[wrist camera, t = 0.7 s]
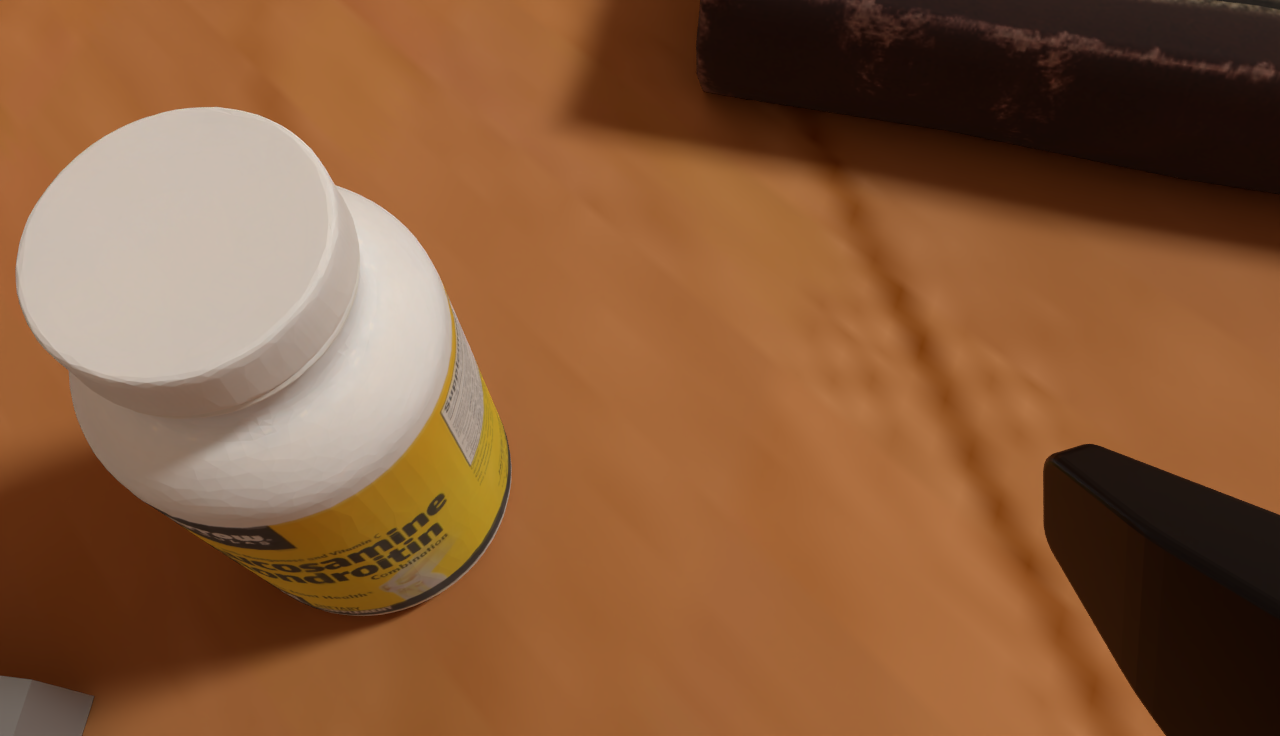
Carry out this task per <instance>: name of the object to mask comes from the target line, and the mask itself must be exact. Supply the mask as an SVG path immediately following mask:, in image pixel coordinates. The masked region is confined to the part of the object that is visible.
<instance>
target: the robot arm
mask: <svg viewBox="0 0 1280 736" xmlns="http://www.w3.org/2000/svg"><path fill="white" fill-rule="evenodd" d="M1043 506H1044V530H1045V535H1046V538H1047V541H1048V544H1049V546H1050V549H1051V551H1052V552H1053V554H1054V556H1055V558H1056V559H1057V561H1058V563H1059V565H1060V566H1061V568H1062V570H1063V571H1064V573H1065V575H1066V577H1067V578H1068V580H1069V582H1070V583H1071V585H1072V587H1073V589H1074V590H1075V592H1076V594H1077V595H1078V597H1079V599H1080V601H1081V602H1082V604H1083V606H1084V607H1085V609H1086V611H1087V613H1088V614H1089V616H1090V618H1091V619H1092V621H1093V623H1094V625H1095V626H1096V628H1097V630H1098V631H1099V633H1100V635H1101V637H1102V638H1103V640H1104V642H1105V643H1106V645H1107V647H1108V649H1109V650H1110V652H1111V654H1112V655H1113V657H1114V659H1115V661H1116V662H1117V664H1118V666H1119V667H1120V669H1121V671H1122V672H1123V674H1124V676H1125V677H1126V679H1127V680H1128V682H1129V684H1130V685H1131V687H1132V689H1133V690H1134V692H1135V693H1136V695H1137V696H1138V698H1139V699H1140V700H1141V702H1142V703H1143V705H1144V706H1145V708H1146V709H1147V710H1148V712H1149V713H1150V715H1151V716H1152V717H1153V719H1154V720H1155V722H1156V723H1157V724H1158V726H1159V727H1160V728H1161V730H1162V731H1163V732H1164V734H1165V735H1166V736H1280V515H1278V514H1276V513H1273V512H1271V511H1268V510H1265V509H1263V508H1260V507H1258V506H1255V505H1252V504H1250V503H1247V502H1245V501H1242V500H1239V499H1237V498H1234V497H1231V496H1229V495H1226V494H1224V493H1221V492H1218V491H1216V490H1213V489H1211V488H1208V487H1205V486H1203V485H1200V484H1198V483H1195V482H1192V481H1190V480H1187V479H1185V478H1182V477H1179V476H1177V475H1174V474H1171V473H1169V472H1166V471H1164V470H1161V469H1158V468H1156V467H1153V466H1151V465H1148V464H1145V463H1143V462H1140V461H1138V460H1135V459H1132V458H1130V457H1127V456H1125V455H1122V454H1119V453H1117V452H1114V451H1111V450H1109V449H1106V448H1104V447H1101V446H1098V445H1094V444H1084V445H1080V446H1077V447H1074V448H1070V449H1067V450H1064V451H1060V452H1057V453H1054V454H1052V455H1050V456H1049V457H1048V458H1047V459H1046V461H1045V464H1044V470H1043Z"/></svg>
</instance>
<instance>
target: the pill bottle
mask: <svg viewBox="0 0 1280 736" xmlns="http://www.w3.org/2000/svg"><path fill="white" fill-rule="evenodd" d="M16 287H17V295H18V298H19V304H20V306H21V309H22V311H23V314H24V317H25V319H26V322H27V324H28V326H29V327H30V329H31V331H32V332H33V334H34V336H35V337H36V339H37V341H38V342H39V343H40V344H41V345H42V346H43V348H44V349H45V350H46V351H47V352H48V353H49V354H51V355H52V356H53V357H54V358H55V359H56V360H57V361H58V362H59V363H60V364H62V365H63V366H64V367H65V368H66V369H68V370H69V380H70V390H71V395H72V401H73V406H74V409H75V413H76V416H77V419H78V421H79V424H80V427H81V429H82V431H83V433H84V435H85V438H86V439H87V441H88V443H89V445H90V447H91V448H92V450H93V452H94V454H95V455H96V456H97V458H98V459H99V460H100V461H101V463H102V464H103V465H104V467H105V468H106V469H107V470H108V471H109V472H110V473H111V474H112V475H113V476H114V477H115V478H116V479H117V480H118V481H119V482H120V483H121V484H122V485H124V486H125V487H126V488H127V489H128V490H130V491H131V492H132V493H133V494H134V495H135V496H136V497H138V498H139V499H141V500H142V501H144V502H145V503H147V504H149V505H150V506H152V507H153V508H155V509H157V510H158V511H160V512H161V513H163V514H164V515H166V516H167V517H169V518H171V519H172V520H174V521H175V522H176V523H178V524H179V525H181V526H182V527H184V528H185V529H187V530H188V531H189V532H191V533H192V534H194V535H196V536H197V537H199V538H200V539H202V540H203V541H205V542H206V543H208V544H210V545H211V546H213V547H214V548H215V549H217V550H219V551H220V552H222V553H223V554H225V555H226V556H228V557H229V558H231V559H232V560H234V561H236V562H237V563H239V564H241V565H242V566H244V567H245V568H247V569H248V570H250V571H252V572H253V573H255V574H256V575H258V576H260V577H261V578H263V579H264V580H266V581H267V582H268V583H270V584H271V585H273V586H275V587H276V588H278V589H279V590H281V591H282V592H284V593H286V594H287V595H289V596H291V597H293V598H294V599H296V600H298V601H299V602H302V603H304V604H307V605H309V606H311V607H314V608H316V609H320V610H324V611H327V612H331V613H336V614H343V615H352V616H370V615H381V614H387V613H392V612H396V611H400V610H404V609H407V608H410V607H413V606H416V605H418V604H420V603H422V602H424V601H427V600H429V599H431V598H433V597H434V596H436V595H438V594H440V593H441V592H443V591H444V590H446V589H447V588H449V587H450V586H451V585H453V584H454V583H455V582H457V581H458V580H459V579H460V578H461V577H462V576H464V575H465V574H466V573H467V572H468V571H469V570H470V569H471V568H472V567H473V566H474V565H475V564H476V562H477V561H478V560H479V559H480V557H481V556H482V555H483V554H484V552H485V551H486V549H487V548H488V546H489V545H490V543H491V541H492V540H493V538H494V536H495V534H496V532H497V530H498V528H499V526H500V524H501V521H502V519H503V516H504V513H505V510H506V506H507V502H508V497H509V493H510V485H511V457H510V451H509V445H508V441H507V436H506V433H505V430H504V427H503V424H502V422H501V419H500V417H499V414H498V412H497V410H496V408H495V405H494V403H493V401H492V398H491V396H490V394H489V391H488V389H487V387H486V384H485V382H484V380H483V377H482V375H481V373H480V370H479V368H478V365H477V363H476V361H475V358H474V356H473V353H472V351H471V349H470V346H469V344H468V342H467V339H466V337H465V335H464V332H463V330H462V328H461V325H460V323H459V321H458V318H457V316H456V314H455V311H454V309H453V307H452V304H451V302H450V300H449V297H448V295H447V292H446V290H445V288H444V285H443V283H442V281H441V279H440V276H439V275H438V273H437V271H436V269H435V267H434V265H433V263H432V262H431V260H430V258H429V256H428V255H427V253H426V251H425V250H424V248H423V247H422V246H421V244H420V243H419V242H418V240H417V239H416V238H415V237H414V235H413V234H412V233H411V232H410V231H409V230H408V229H407V228H406V227H405V226H404V225H403V224H402V223H401V222H400V221H399V220H398V219H397V218H395V217H394V216H393V215H392V214H390V213H389V212H388V211H386V210H385V209H384V208H382V207H381V206H379V205H377V204H376V203H374V202H372V201H371V200H369V199H367V198H365V197H363V196H361V195H359V194H357V193H354V192H352V191H349V190H347V189H344V188H341V187H339V186H336V185H334V183H333V181H332V179H331V178H330V176H329V174H328V172H327V170H326V169H325V167H324V166H323V164H322V163H321V161H320V160H319V159H318V157H317V156H316V155H315V153H314V152H313V151H312V149H311V148H310V147H308V146H307V145H306V144H305V143H304V142H303V141H302V140H301V139H300V138H299V137H297V136H296V135H295V134H294V133H292V132H291V131H289V130H288V129H286V128H285V127H283V126H281V125H279V124H278V123H275V122H273V121H271V120H269V119H267V118H264V117H262V116H259V115H257V114H252V113H248V112H244V111H240V110H234V109H227V108H220V107H200V108H185V109H177V110H172V111H168V112H163V113H159V114H156V115H153V116H150V117H146V118H143V119H140V120H138V121H135V122H133V123H130V124H128V125H126V126H124V127H121V128H119V129H117V130H115V131H114V132H112V133H110V134H108V135H106V136H104V137H103V138H101V139H100V140H98V141H97V142H95V143H94V144H92V145H91V146H90V147H88V148H87V149H86V150H85V151H83V152H82V153H81V154H80V155H78V156H77V157H76V158H75V159H74V160H73V161H72V162H71V163H70V164H68V165H67V166H66V167H65V168H64V169H63V170H62V171H61V172H60V173H59V175H58V176H57V177H56V178H55V179H54V181H53V182H52V183H51V184H50V185H49V187H48V188H47V189H46V191H45V192H44V194H43V195H42V196H41V198H40V199H39V200H38V202H37V204H36V205H35V207H34V209H33V211H32V212H31V214H30V216H29V218H28V220H27V223H26V225H25V228H24V231H23V234H22V237H21V240H20V244H19V249H18V254H17V261H16Z"/></svg>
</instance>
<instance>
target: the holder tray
mask: <svg viewBox="0 0 1280 736" xmlns="http://www.w3.org/2000/svg"><path fill="white" fill-rule="evenodd" d="M93 699H94V696H92V695H88V694H84V693H80V692H77V691H73V690H69V689H65V688H62V687H58V686H54V685H50V684H47V683H43V682H39V681H35V680H31V679H23V678H15V677H7V676H0V736H82V734H83V731H84V728H85V724H86V721H87V718H88V715H89V711H90V708H91V705H92V702H93Z"/></svg>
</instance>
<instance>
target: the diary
mask: <svg viewBox="0 0 1280 736" xmlns="http://www.w3.org/2000/svg"><path fill="white" fill-rule="evenodd" d="M696 49H697V76H698V79H699V82H700V84H701V87H702V89H703V91H704V92H710V93H715V94H721V95H727V96H732V97H738V98H744V99H751V100H757V101H763V102H770V103H776V104H783V105H789V106H795V107H802V108H808V109H814V110H821V111H827V112H833V113H840V114H846V115H852V116H859V117H865V118H871V119H878V120H884V121H890V122H897V123H903V124H910V125H916V126H922V127H929V128H935V129H941V130H947V131H952V132H957V133H962V134H967V135H972V136H977V137H982V138H986V139H991V140H996V141H1001V142H1006V143H1011V144H1016V145H1021V146H1025V147H1030V148H1035V149H1040V150H1045V151H1050V152H1055V153H1060V154H1064V155H1069V156H1074V157H1079V158H1084V159H1089V160H1094V161H1099V162H1103V163H1108V164H1113V165H1118V166H1123V167H1128V168H1133V169H1138V170H1142V171H1147V172H1152V173H1157V174H1162V175H1167V176H1172V177H1177V178H1181V179H1188V180H1194V181H1201V182H1207V183H1213V184H1220V185H1226V186H1233V187H1239V188H1246V189H1252V190H1259V191H1265V192H1272V193H1278V194H1280V0H701V1H700V11H699V21H698V31H697V41H696Z"/></svg>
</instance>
